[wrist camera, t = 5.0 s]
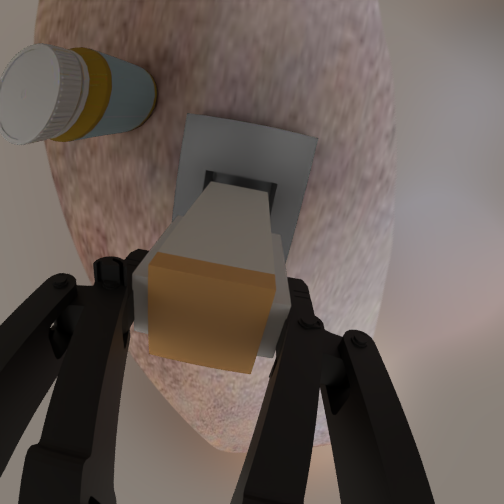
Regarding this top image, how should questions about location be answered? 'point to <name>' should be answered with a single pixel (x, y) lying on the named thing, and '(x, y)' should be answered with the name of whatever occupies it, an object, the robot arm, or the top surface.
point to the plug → (214, 281)
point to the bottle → (71, 95)
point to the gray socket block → (246, 166)
